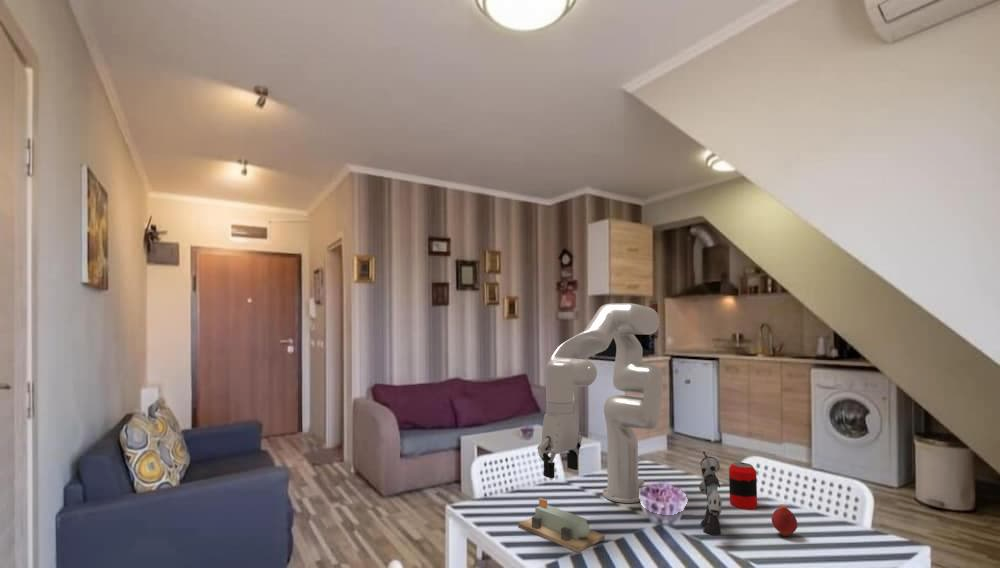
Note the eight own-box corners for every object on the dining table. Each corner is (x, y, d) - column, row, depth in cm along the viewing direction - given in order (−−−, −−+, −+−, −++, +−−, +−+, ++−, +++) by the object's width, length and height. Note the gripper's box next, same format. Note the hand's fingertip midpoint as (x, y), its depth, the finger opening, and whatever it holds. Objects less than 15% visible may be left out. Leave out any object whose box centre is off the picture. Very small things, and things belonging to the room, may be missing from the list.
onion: (794, 533, 133) (793, 502, 133) (800, 542, 127) (799, 509, 128) (770, 530, 135) (769, 499, 135) (774, 538, 129) (773, 507, 130)
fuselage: (544, 518, 138) (544, 496, 139) (593, 537, 127) (592, 513, 127) (534, 522, 136) (534, 499, 136) (583, 542, 124) (583, 517, 124)
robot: (728, 545, 125) (726, 463, 126) (707, 543, 126) (705, 462, 127) (714, 516, 144) (712, 445, 145) (696, 514, 145) (695, 444, 146)
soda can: (758, 503, 154) (757, 463, 155) (755, 511, 148) (754, 470, 148) (731, 498, 158) (730, 460, 159) (728, 506, 152) (727, 465, 152)
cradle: (545, 516, 143) (545, 503, 143) (604, 538, 128) (604, 524, 128) (518, 526, 135) (518, 513, 135) (577, 552, 121) (577, 537, 121)
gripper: (569, 402, 143) (570, 463, 142) (528, 410, 131) (528, 477, 130) (591, 405, 137) (592, 469, 136) (549, 414, 125) (550, 484, 124)
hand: (561, 473), depth 133 cm, fingers open, 9 cm apart
